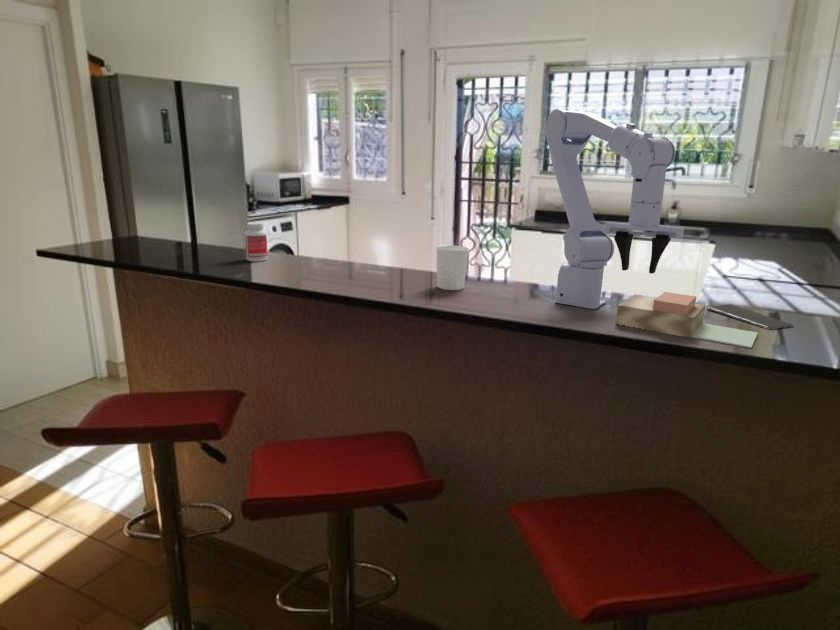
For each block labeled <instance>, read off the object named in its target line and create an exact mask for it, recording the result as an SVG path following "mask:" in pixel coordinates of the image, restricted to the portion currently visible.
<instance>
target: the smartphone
mask: <svg viewBox="0 0 840 630" xmlns="http://www.w3.org/2000/svg"><path fill="white" fill-rule="evenodd" d="M706 309H707V310H708V312H709V311H710V312H712V313H716V314H718V315H722V316H724V317H727V318H730V319H734V320H737V321H740V322H743V323H746V324H749V325H753V326H756V327H759V328H762V329H765V328H766V330H769V329H773V330H778V329H777V328H781V329H788V328H787V327H791V328H794V324H792V323H790V322H786V321H784V320H781V319H779V318H778V319H777V318H775V317H770V316H768V315H765V314H761V313H759V312H755V311H752V310H748V309H746V308H743V307H740V306H736V305H733V304H718V305H710V306H707V307H706ZM782 327H783V328H782Z"/></svg>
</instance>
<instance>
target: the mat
mask: <svg viewBox="0 0 840 630" xmlns="http://www.w3.org/2000/svg"><path fill="white" fill-rule="evenodd" d="M758 335H759V332H757V331H752V330H745V329H740V328H733V327H729V326H727V327H726V326H721V325H716V324H709V323H704V322H702V324H701V325H700V326H699V327H698V328H697V330H696V331H695V332H694V333H693V334H692V336H691V338H693V339H698V340H703V341H707V342H709V341H710V342H714V343H721V344H726V345H730V346H736V347H741V348H747V349H752V347H753V346H754V344H755V340H756V339H757V337H758Z"/></svg>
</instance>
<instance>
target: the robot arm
mask: <svg viewBox="0 0 840 630" xmlns="http://www.w3.org/2000/svg"><path fill="white" fill-rule="evenodd" d="M543 131H544V134H545V137H546V141H547V144H548V148H549V151H550V153H549V154H550V160H551V164H552V168H553V170H554V171H553V172H554V175H555V178H556V182H557V184H558V189H559V193H560V195H561V199H562V204H563V207H564V209H565V213H566V216H567V220H568V224H569V226H570V227H569V228H568V229H567V230H566V232H564V234H563V236H562V239H563V242H564V246H563V247H564V248H563V249H564V250H563V251H564V257H565V259H566V262H564V263H561V266H560V267H559V270H558V273H557V282H556V283H557V285H556V295H555V299H554V303H557V304H562V305H567V306H573V307H578V308H585V309H590V310H596V309H598V308H599V307H600V306H602V305H605V304H606V303H607V300H603V299H601V295H602V287H603V278H604V270H605V267H606V266H607V265H608V262H609V261H610V260H611V259H612V258H613V256H614V254H615V253H614V252H615V244H616V247H617V249H618V253H619V256H620V257H619V258H620V261H621V262H620V263H621V271H627V270H629V267H630V258H631V257H630V254H631V248H632V243H633V238H634V235H636V236H637V235H639V236H651V237H652V238H651V254H650V255H651V256H650V261H649V262H650V264H649V268H648V273H649V274H655V273H656V270H657V268H658V267H657V266H658V264H659V262H660V260H661V257H662V255H663V253H664V251H665V249H666V248H667V246H668V245H669V244H670V242H671V240H672V238H674V239H683V237H684V232H685V227H684V226H683V227H681V226H669V225H662V224H660V223H661V215H662V207H663V199H664V190H665V183H666V177H667V176H666V174H667V168H669V167H670V166H671V165H672V163H673V162H674V160H675V158H676V157H675V156H676V147H675V145H674V143H673V142H672V141H671V140H670V139H668V138H667V137H662V138H661V137H660V138H655V137H654V136H653V135H654V134H653V132H650V131H642V130H640V129H638V128H637V125H636V124H635V123H633V122H632V123H631V122H627V123H625V124H620V125H618V126H616V125H615V124H614V123H611V122H610V121H608V120H606V119H605V118H603V117H601V116H599V115H598V114H597V113H595V112H591V111H588V110H585V111H580V110H563V109H560V108H555V109H553V110H552V111H551V112H550V113H549V115H548V117H547V120H546V123H545V126H544V129H543ZM592 136H593V137H596V138H598V139H600V140H602V141H605V142H607V143H608V148H609V149H610V151H612V152H614V153H615V154H617V155H618V156H620V157H623V158H624V159H626V160H628V163H629V164H630V167H631V176H632V180H633V181H632V187H631V188H632V189H631V197H630V198H631V199H630V206H629V207H630V209H629V217H628V222H610V221H609V222H605V226H604V225H603V224H601V223H600V222H598V221H597V220H596V219H595V216H594V213H593V210H592V205H591V202H590V200H589V196H588V193H587V190H586V186H585V182H584V179H583V176H582V172H581V169H580V166H579V162H578V159H577V157H578V155H580V154H582V153H583V151H584V149H585V148H586V146H587V145H588V143H589V141H590V139H591V138H592ZM608 233H609V234H610V233H614V234H615V235H614V236H613V239H614V240H613V239H612V238H611V237H610V236H609V235H608ZM614 242H615V244H614Z"/></svg>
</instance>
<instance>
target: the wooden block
mask: <svg viewBox="0 0 840 630" xmlns="http://www.w3.org/2000/svg"><path fill="white" fill-rule="evenodd" d="M656 298H657V297H655V296H649V295H641V294H633V295H631V296H630V297H628V298H626V299H625V300H624V301H622V302H621V303H619V304H617V309H616V317H615V325H617V324H619V326H622V325H625V326H624V327H628V326H629V327H630V328H633V327H635V328H634V329H639V328H641V329H640V330H644V329H646V330H645V331H650V332H656V333H662V334H667V335H673V336H678V337H683V338H689V339H691V338H692V337H691V336H692V334H693V333H694V332H695V331H696V330H697V328H698V327H699V326H700V325H701V324H702V323H704V322H703V321H704V316H705V311H706V304H702V303H701V304H700V303H695V307H694V308H693V309H692V310H691V311H690V312H689V313H688V314H687V315H686V316H685V315H679V314H673V313H667V312H661V311H655V310H653V303H654V300H655V299H656Z"/></svg>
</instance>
